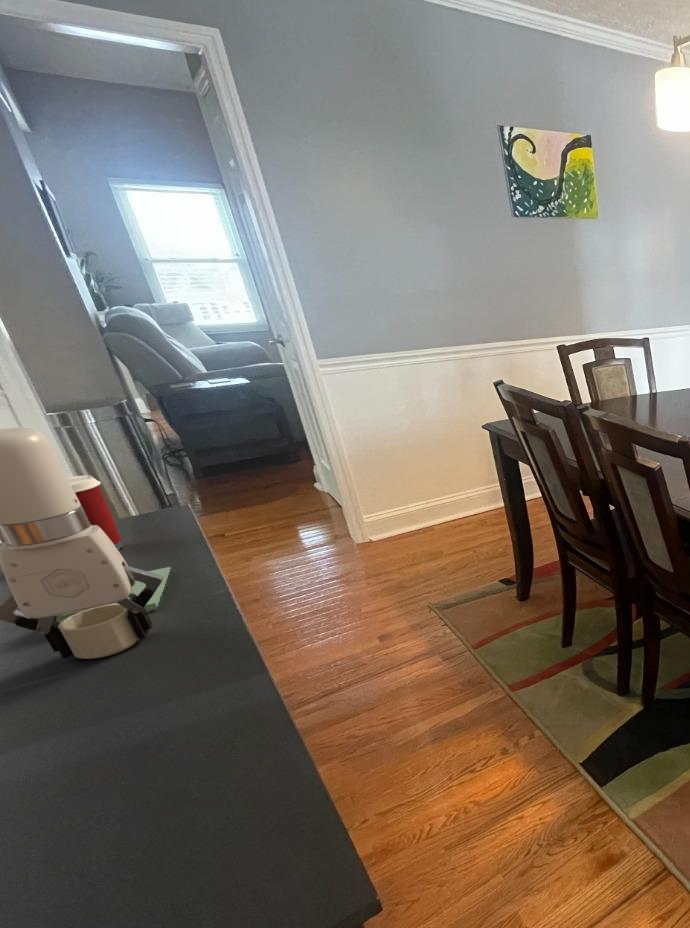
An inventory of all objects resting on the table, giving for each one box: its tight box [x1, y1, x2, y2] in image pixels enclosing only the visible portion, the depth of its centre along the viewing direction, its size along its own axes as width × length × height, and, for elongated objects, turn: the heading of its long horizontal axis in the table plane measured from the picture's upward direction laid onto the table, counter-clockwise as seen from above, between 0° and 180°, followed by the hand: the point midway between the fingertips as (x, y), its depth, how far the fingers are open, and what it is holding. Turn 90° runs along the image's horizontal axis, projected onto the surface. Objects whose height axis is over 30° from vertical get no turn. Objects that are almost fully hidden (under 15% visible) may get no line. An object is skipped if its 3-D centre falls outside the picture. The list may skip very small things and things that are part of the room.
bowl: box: [58, 604, 140, 660], centre depth 82 cm, size 7×7×5 cm
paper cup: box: [67, 475, 122, 544], centre depth 110 cm, size 8×8×14 cm
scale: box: [56, 566, 172, 623], centre depth 94 cm, size 12×16×3 cm
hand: (108, 642), depth 83 cm, fingers closed on bowl, 6 cm apart
